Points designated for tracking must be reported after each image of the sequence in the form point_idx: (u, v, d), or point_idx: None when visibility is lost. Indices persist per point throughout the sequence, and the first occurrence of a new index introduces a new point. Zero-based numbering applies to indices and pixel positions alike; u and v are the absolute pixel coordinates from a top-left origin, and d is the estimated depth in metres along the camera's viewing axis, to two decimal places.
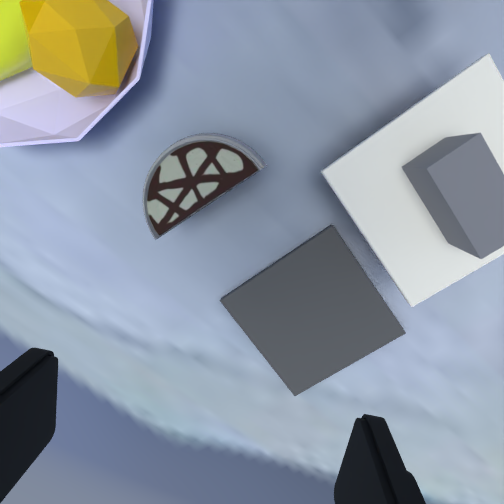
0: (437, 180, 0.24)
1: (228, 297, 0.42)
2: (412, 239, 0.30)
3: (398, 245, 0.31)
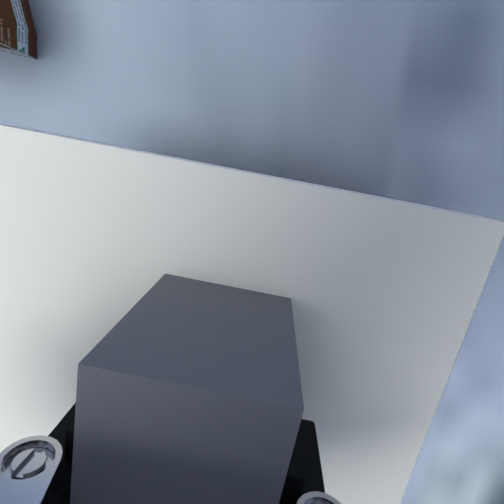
0: (87, 420, 0.06)
1: None
2: None
3: (48, 403, 0.12)
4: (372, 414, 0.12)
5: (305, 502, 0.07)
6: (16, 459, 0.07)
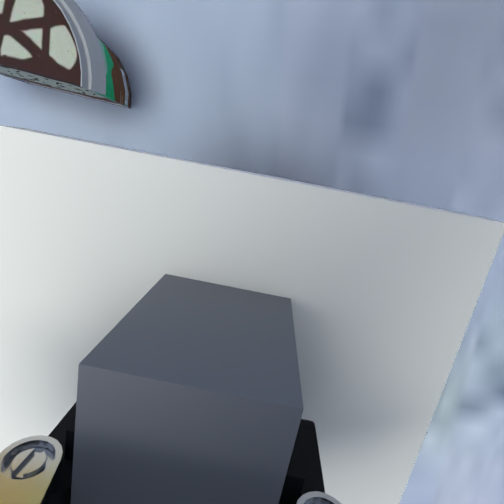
0: (88, 420, 0.06)
1: None
2: None
3: (49, 403, 0.12)
4: (372, 414, 0.12)
5: (305, 502, 0.07)
6: (16, 459, 0.07)
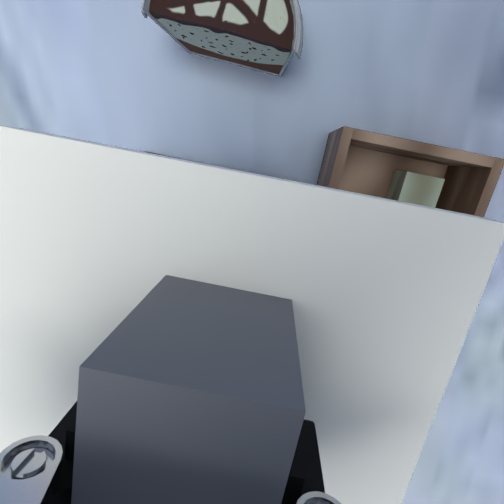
0: (88, 423, 0.06)
1: None
2: None
3: (49, 404, 0.12)
4: (373, 416, 0.12)
5: (305, 502, 0.07)
6: (16, 459, 0.07)
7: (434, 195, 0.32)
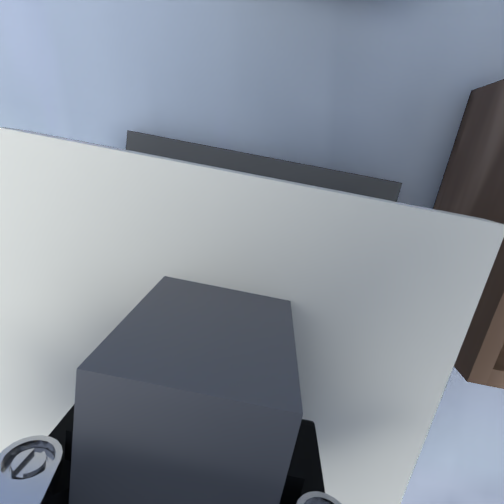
0: (86, 425, 0.06)
1: (146, 138, 0.20)
2: None
3: (48, 405, 0.12)
4: (372, 417, 0.12)
5: (305, 502, 0.07)
6: (16, 459, 0.07)
7: None
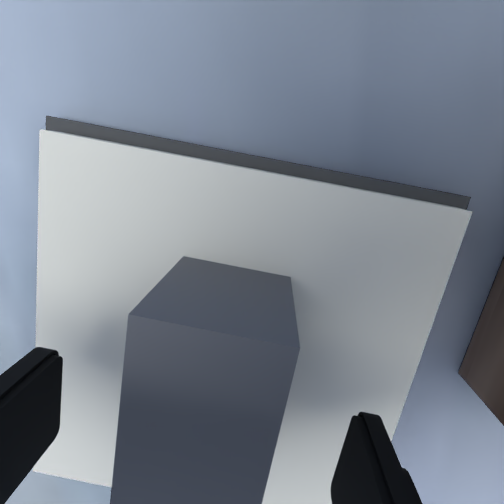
0: (134, 359, 0.08)
1: (74, 127, 0.13)
2: (110, 381, 0.14)
3: (80, 370, 0.14)
4: (360, 378, 0.14)
5: None
6: None
7: None
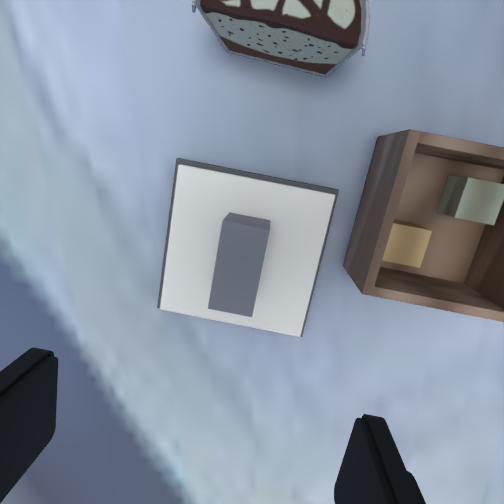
0: (222, 234, 0.29)
1: (187, 162, 0.34)
2: (197, 265, 0.35)
3: (185, 260, 0.35)
4: (298, 261, 0.34)
5: None
6: None
7: (497, 202, 0.30)
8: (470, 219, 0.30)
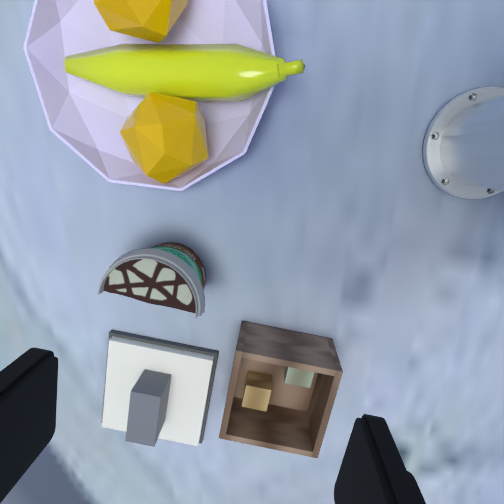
0: (131, 399, 0.46)
1: (116, 335, 0.50)
2: (125, 400, 0.52)
3: (117, 397, 0.52)
4: (192, 399, 0.51)
5: None
6: None
7: (310, 375, 0.46)
8: (294, 384, 0.47)
